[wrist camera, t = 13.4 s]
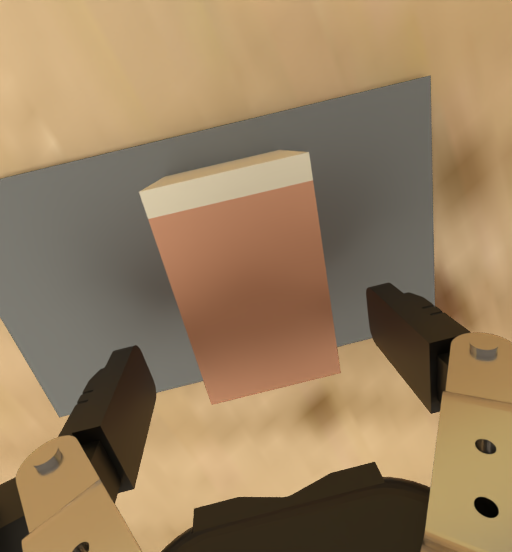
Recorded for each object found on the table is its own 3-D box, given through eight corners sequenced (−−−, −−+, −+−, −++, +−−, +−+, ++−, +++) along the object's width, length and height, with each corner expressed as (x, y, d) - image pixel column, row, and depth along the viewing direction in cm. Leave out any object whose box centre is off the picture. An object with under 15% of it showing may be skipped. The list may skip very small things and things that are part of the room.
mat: (422, 78, 14) (430, 75, 14) (428, 316, 19) (435, 322, 18) (-60, 194, 14) (-71, 196, 14) (64, 409, 19) (59, 417, 18)
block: (307, 311, 17) (279, 149, 14) (340, 372, 13) (309, 152, 10) (213, 334, 17) (164, 176, 14) (211, 404, 13) (139, 192, 10)
